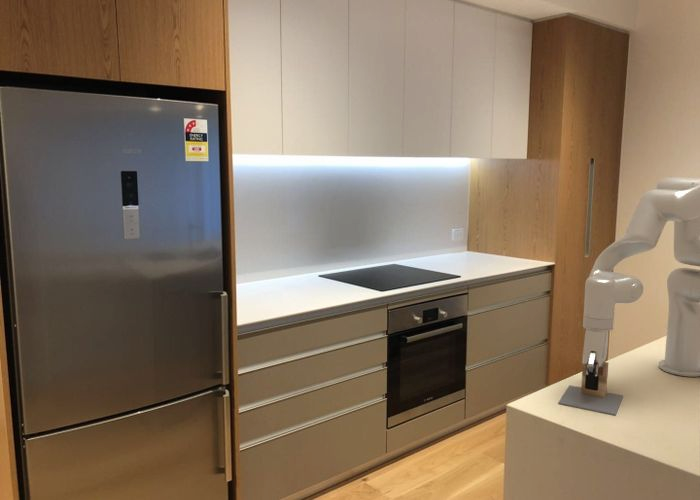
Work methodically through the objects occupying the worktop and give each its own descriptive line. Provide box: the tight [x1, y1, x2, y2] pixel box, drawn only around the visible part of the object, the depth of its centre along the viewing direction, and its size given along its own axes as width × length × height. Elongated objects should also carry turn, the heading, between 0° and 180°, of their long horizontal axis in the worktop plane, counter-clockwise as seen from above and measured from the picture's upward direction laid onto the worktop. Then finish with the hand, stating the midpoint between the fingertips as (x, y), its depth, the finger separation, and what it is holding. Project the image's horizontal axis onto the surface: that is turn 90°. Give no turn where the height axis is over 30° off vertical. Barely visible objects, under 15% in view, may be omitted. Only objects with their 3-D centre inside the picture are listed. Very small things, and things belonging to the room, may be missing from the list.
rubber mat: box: [557, 384, 624, 416], centre depth 157 cm, size 14×14×1 cm
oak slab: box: [580, 361, 609, 398], centre depth 160 cm, size 3×6×9 cm, turn 58°
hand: (594, 383), depth 160 cm, fingers open, 8 cm apart
